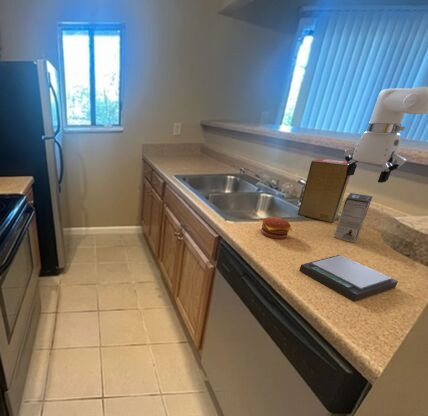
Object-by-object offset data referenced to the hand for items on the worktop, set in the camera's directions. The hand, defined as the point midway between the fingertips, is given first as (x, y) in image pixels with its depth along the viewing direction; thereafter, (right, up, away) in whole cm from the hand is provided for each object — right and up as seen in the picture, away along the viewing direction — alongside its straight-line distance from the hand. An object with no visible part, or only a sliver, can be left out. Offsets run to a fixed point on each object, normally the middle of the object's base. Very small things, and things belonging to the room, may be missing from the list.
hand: (364, 178), depth 97 cm
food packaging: (+4, -14, +27) cm, 31 cm away
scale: (-22, -31, -17) cm, 42 cm away
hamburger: (-26, -21, +11) cm, 35 cm away
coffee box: (0, -22, +8) cm, 23 cm away
